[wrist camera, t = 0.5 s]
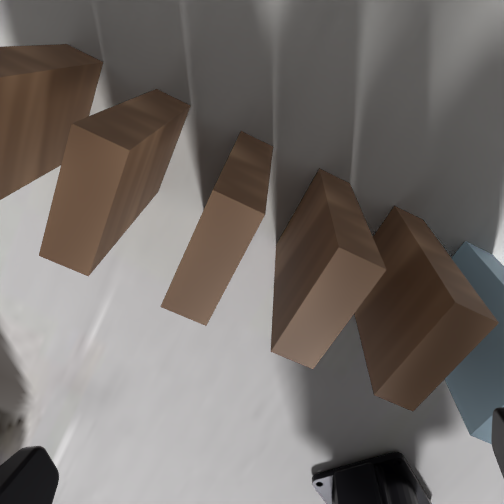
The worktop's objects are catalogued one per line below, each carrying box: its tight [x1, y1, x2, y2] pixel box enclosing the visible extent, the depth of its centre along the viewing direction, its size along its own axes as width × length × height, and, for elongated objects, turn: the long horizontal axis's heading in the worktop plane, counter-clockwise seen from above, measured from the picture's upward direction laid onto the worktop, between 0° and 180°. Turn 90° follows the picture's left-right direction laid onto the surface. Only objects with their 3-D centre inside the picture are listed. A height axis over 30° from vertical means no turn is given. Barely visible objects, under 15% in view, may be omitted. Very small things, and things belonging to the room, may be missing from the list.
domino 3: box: [161, 131, 273, 326], centre depth 16 cm, size 2×4×8 cm, turn 155°
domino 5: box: [354, 206, 499, 411], centre depth 17 cm, size 2×4×8 cm, turn 155°
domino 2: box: [39, 89, 191, 276], centre depth 15 cm, size 2×4×8 cm, turn 155°
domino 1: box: [0, 44, 103, 200], centre depth 15 cm, size 2×4×8 cm, turn 155°
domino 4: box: [271, 168, 387, 369], centre depth 17 cm, size 2×4×8 cm, turn 155°
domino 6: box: [445, 241, 504, 444], centre depth 18 cm, size 2×4×8 cm, turn 155°
